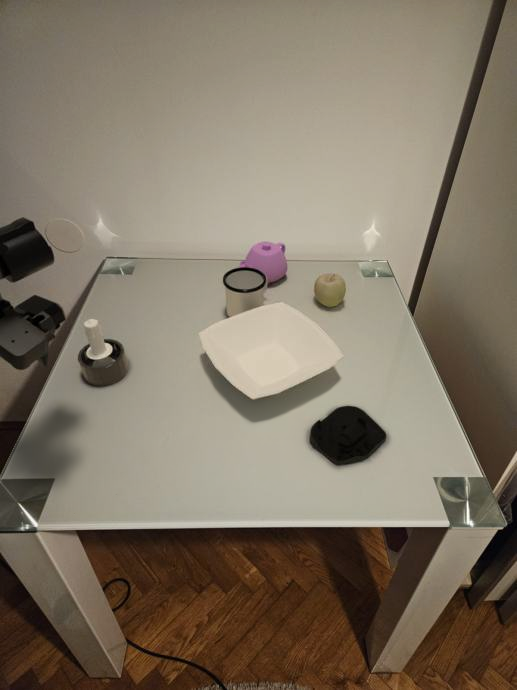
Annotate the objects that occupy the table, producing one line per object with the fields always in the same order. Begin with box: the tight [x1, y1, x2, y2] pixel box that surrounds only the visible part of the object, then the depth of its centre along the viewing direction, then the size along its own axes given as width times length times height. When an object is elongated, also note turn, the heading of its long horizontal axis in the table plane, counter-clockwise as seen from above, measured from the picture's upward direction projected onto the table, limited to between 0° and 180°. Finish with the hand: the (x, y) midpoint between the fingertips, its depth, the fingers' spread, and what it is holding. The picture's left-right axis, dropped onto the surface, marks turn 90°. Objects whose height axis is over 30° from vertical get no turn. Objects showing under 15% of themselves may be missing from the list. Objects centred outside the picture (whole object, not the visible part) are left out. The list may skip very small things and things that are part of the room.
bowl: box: [198, 301, 344, 400], centre depth 85 cm, size 22×23×6 cm
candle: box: [83, 318, 115, 367], centre depth 80 cm, size 5×5×12 cm
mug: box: [222, 266, 268, 318], centre depth 97 cm, size 12×10×9 cm
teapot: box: [239, 241, 288, 286], centre depth 107 cm, size 10×15×9 cm
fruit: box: [313, 273, 347, 308], centre depth 100 cm, size 8×7×8 cm
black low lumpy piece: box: [309, 405, 387, 466], centre depth 72 cm, size 12×10×5 cm
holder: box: [77, 338, 129, 387], centre depth 83 cm, size 8×8×4 cm
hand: (19, 385), depth 64 cm, fingers open, 9 cm apart
